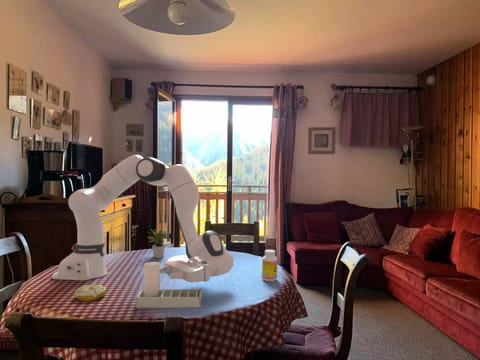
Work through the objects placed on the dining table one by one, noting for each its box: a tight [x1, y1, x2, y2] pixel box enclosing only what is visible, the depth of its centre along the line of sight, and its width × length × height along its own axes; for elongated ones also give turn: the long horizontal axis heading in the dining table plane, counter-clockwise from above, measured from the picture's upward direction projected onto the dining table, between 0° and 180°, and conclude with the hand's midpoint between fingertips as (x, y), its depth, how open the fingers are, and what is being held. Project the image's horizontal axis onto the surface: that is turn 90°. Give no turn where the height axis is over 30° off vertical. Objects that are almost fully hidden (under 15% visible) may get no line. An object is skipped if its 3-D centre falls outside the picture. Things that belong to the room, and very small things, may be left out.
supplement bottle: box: [261, 249, 278, 282], centre depth 163 cm, size 7×7×13 cm
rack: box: [135, 288, 203, 309], centre depth 131 cm, size 22×9×4 cm, turn 94°
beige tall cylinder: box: [142, 261, 161, 297], centre depth 131 cm, size 6×6×13 cm
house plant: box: [147, 227, 171, 259], centre depth 205 cm, size 14×14×16 cm
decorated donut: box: [74, 284, 107, 302], centre depth 136 cm, size 10×11×4 cm
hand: (164, 273), depth 133 cm, fingers open, 8 cm apart
